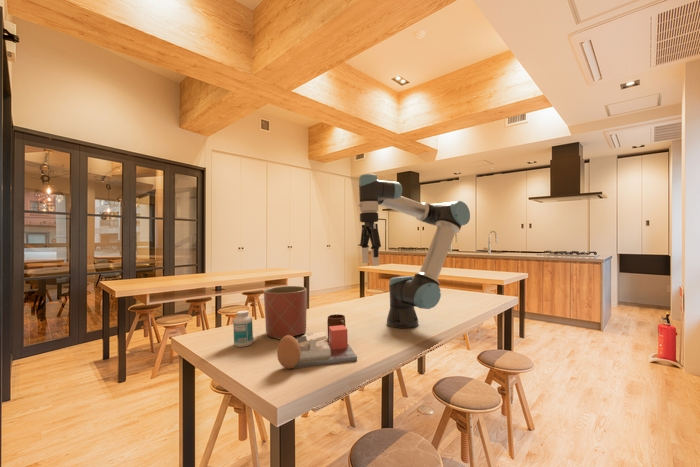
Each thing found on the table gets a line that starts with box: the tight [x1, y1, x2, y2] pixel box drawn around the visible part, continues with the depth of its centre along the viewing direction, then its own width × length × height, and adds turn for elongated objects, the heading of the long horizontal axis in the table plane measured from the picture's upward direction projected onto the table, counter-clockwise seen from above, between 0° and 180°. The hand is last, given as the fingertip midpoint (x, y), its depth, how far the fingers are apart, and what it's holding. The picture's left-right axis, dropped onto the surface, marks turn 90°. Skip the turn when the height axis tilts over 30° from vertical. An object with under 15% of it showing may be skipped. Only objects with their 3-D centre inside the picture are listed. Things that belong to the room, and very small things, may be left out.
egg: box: [276, 335, 300, 369], centre depth 105 cm, size 8×8×11 cm
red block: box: [328, 325, 349, 350], centre depth 121 cm, size 6×6×7 cm
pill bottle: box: [232, 309, 254, 348], centre depth 130 cm, size 8×7×14 cm
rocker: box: [296, 331, 328, 346], centre depth 113 cm, size 10×6×1 cm, turn 104°
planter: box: [263, 285, 308, 341], centre depth 144 cm, size 19×19×20 cm
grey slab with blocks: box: [292, 333, 358, 369], centre depth 116 cm, size 22×16×8 cm
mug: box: [327, 313, 347, 340], centre depth 133 cm, size 12×8×9 cm, turn 26°
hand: (370, 264), depth 130 cm, fingers open, 13 cm apart
